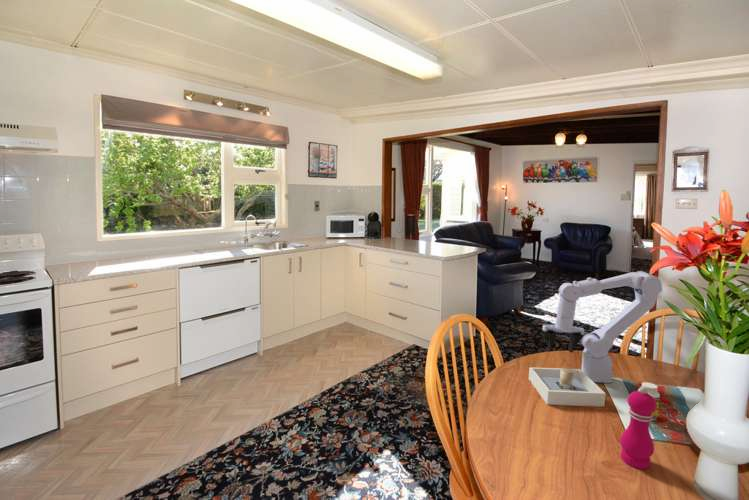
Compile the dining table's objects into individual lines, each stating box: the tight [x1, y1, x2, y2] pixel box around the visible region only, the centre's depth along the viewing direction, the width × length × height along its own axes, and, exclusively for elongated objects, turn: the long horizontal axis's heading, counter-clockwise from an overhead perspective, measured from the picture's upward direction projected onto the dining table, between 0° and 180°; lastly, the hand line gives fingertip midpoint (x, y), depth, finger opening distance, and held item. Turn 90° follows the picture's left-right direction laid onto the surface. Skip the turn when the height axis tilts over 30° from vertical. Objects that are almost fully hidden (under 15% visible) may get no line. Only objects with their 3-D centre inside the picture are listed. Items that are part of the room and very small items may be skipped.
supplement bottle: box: [637, 381, 661, 422], centre depth 124 cm, size 6×6×10 cm
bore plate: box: [541, 377, 589, 392], centre depth 138 cm, size 12×12×2 cm
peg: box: [559, 368, 573, 389], centre depth 138 cm, size 4×4×7 cm
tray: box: [528, 367, 607, 407], centre depth 139 cm, size 18×18×4 cm
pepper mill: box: [619, 386, 656, 470], centre depth 102 cm, size 7×7×20 cm
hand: (559, 350), depth 151 cm, fingers open, 7 cm apart
